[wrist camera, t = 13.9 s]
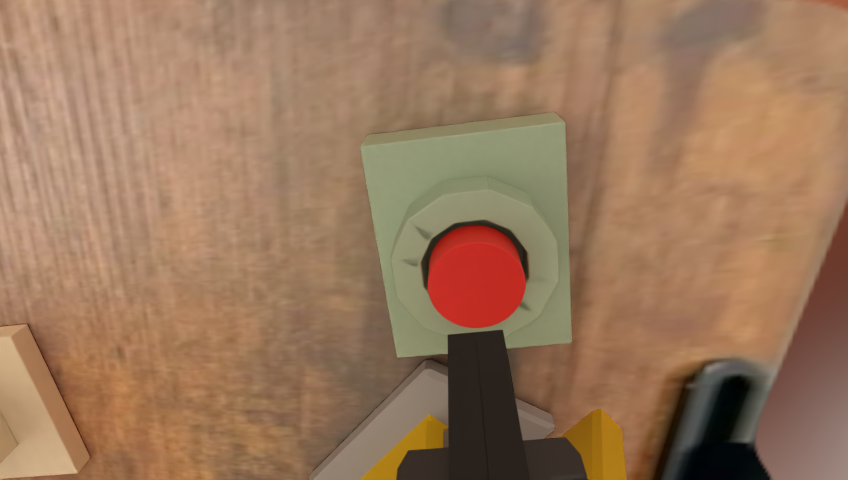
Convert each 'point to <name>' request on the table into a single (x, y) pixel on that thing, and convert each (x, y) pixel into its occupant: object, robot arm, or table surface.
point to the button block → (472, 220)
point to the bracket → (33, 413)
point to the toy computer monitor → (428, 428)
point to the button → (475, 277)
